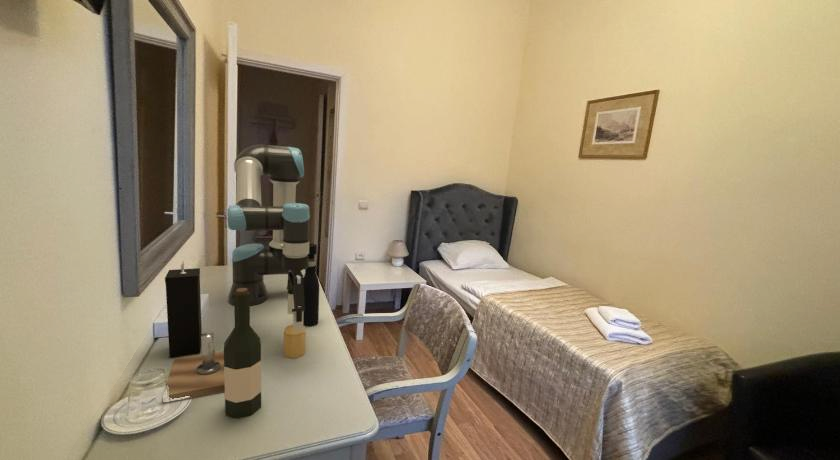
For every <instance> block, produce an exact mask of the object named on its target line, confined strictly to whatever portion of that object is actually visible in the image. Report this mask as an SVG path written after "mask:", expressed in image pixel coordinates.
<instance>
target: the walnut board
mask: <svg viewBox="0 0 840 460" xmlns="http://www.w3.org/2000/svg"><path fill="white" fill-rule="evenodd" d="M172 361H173V362H172V364H171V368H170V371H169V375H168V378H167V381H166V384H167V385H168V387H169V397H170V398H172V399H174V398H180V397H185V396H190V397H192V398H191V399H193V398H198V397H203V396H209V395H215V394H219V393H225V380H224V350H222V351H221V350H220V351H215V362H219V363H220V366H221V367H220V369H219V370H218V371H217V372H215V373H212V374H208V375H200V374H198V373H197V367H198V366H199V365H201V364H202V353H199V354H194V355H187V356H181V357H175V358H174V359H173V360H172Z"/></svg>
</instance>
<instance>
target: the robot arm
mask: <svg viewBox="0 0 840 460" xmlns="http://www.w3.org/2000/svg"><path fill="white" fill-rule="evenodd" d="M233 164H234V165H233V170H234V173H235V174H236V187H235V188H236V189H235V190H236V191H235V205H228V208H227V227H228V229H229V230H231V231H242V232H245V231H272V240H271V241H269V243H268V247H265V246H264V244H262V243H249V244H244V245H243V244H242V245H240V246H237V247H235V248H234V249H233V251H232V254H231V255H232V256H231V262H232V284H231V286H230V290H229V293H228V297H227V299H228V300H227V301H228V303H229V304H230V305H232V306H234V293H235V292H236V289H239V288H247V291H249V293H250V306H255V305H259V304H263V303H265V302H266V301H267V300H268V299H269V292H268V290H267V286H266V284H265V282H264V276H271V275H275V276H276V275H287V284H286V286H287V287H286V289H287V315H293V320H292V322H293V323H292V325H293V332H299V331H303V317H304V311H305V302H304V285H303V279H304V274H303V272H302V271H303V270H305V269H307V268H308V266H309V256H308V254H309V244H310V218H311V214H310V206H309V205H308V204H306V203H301V202H298V203H297V202H296V195H297V194H296V192H297V191H296V190H297V185H298V184H299V183H300V182H301V178H303V177H304V176H305V167H304V159H303V154H302V150H301V149H300V148H298V147H293V146H283V145H282V146H281V145H269V144H261V143H259V144H254V145H250V146H248V147H246V148H244V149H243V150H242V151H241V152H240V153H239V154H238V155H237V156H236V158H235V160H234V162H233ZM263 175H264V176H268V177H269V178H268V179H269V181H270V182H271V184H272V185H273V187H272V189H273V191H272V192H273V193H272V194H273V195H272V196H273V197H272V203H273V204H272V205H271V206H269V205H268V206H267V205H263V204H262V184H261V176H263Z"/></svg>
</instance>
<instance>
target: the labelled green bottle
mask: <svg viewBox="0 0 840 460" xmlns="http://www.w3.org/2000/svg"><path fill="white" fill-rule="evenodd" d="M233 306H234V327H233V328H232V331H231V332H230V333H229V335H228V336H227V338H226V340H225V341H224V342H223V351H224V380H225V392H224V409H225V410H224V411H225V412H224V413H225V416H227V417H230V418H232V419H235V420H237V419H241V418H245V417H247V418H248V417H251V416H253V415H254V414H255V413H256V412H257V411H259V410H260V409H261V408H262V342H261V337H260V336H259V335H258V333H256V331H255V329H254V328H253V327H252V326H251V316H250V315H251V314H250V313H251V311H250V310H251V309H250V308H251V307H250V293H249V291H247V288H239V289H236V292H235V293H234V305H233Z"/></svg>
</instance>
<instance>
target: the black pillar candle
mask: <svg viewBox="0 0 840 460" xmlns="http://www.w3.org/2000/svg"><path fill="white" fill-rule="evenodd" d="M200 275H201V269H200V268H199V267H198V268H197V267H196V268H185V260H183V261H182V262H181V265H180V269H177V268H176V269H169V270H168V271H167V273H166V275H165V277H164V283H165V296H166V297H165V298H166V313H167V315H166V317H167V318H166V319H167V333H168V334H167V335H168V351H169V352H168V353H169V355H168V356H169V358H170V359H172V358H179V357H186V356H193V355H200V354H201V353H202V345H201V335H202V334H203V332H202V330H203V328H202V327H203V326H202V305H201V303H202V302H201V276H200Z"/></svg>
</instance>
